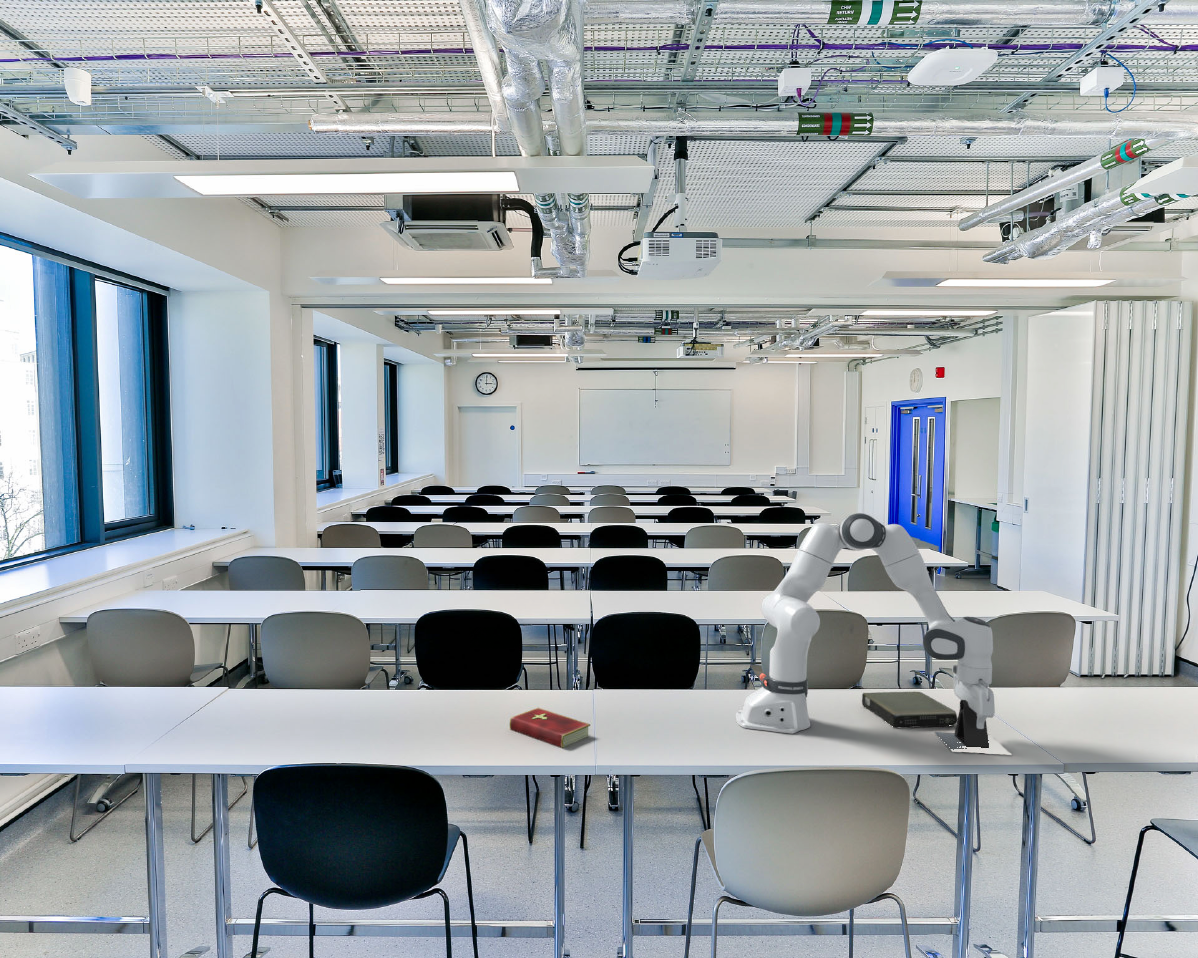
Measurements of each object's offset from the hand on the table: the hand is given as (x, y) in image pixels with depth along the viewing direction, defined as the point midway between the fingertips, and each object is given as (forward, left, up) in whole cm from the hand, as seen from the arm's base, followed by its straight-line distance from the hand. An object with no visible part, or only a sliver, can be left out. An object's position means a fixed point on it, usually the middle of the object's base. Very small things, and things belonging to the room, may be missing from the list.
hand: (972, 721), depth 215 cm
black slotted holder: (0, 0, -6) cm, 6 cm away
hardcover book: (-122, -8, -7) cm, 122 cm away
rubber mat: (0, 0, -6) cm, 6 cm away
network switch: (-11, +22, -7) cm, 26 cm away
